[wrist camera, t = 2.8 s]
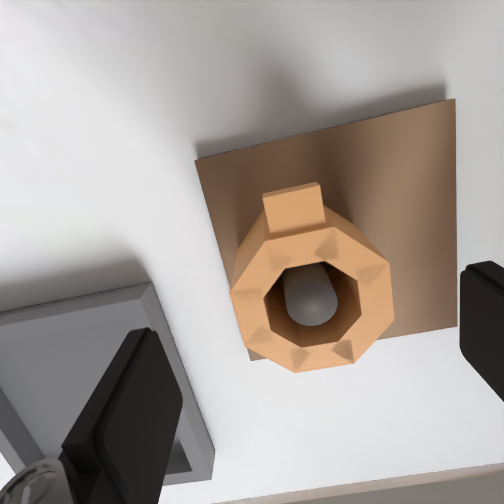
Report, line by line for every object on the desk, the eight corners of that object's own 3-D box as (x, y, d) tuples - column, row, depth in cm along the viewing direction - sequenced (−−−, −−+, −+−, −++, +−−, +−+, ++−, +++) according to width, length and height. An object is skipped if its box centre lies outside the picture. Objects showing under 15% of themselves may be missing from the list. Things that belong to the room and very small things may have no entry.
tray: (152, 281, 19) (140, 298, 17) (215, 451, 24) (211, 479, 22) (-46, 321, 20) (-77, 340, 18) (52, 474, 25) (35, 502, 23)
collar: (345, 159, 15) (381, 172, 11) (362, 296, 18) (397, 356, 13) (222, 187, 16) (206, 211, 11) (255, 316, 19) (253, 379, 14)
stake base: (445, 99, 15) (543, 85, 10) (449, 318, 19) (520, 390, 14) (197, 159, 16) (166, 174, 11) (251, 352, 20) (247, 429, 15)
